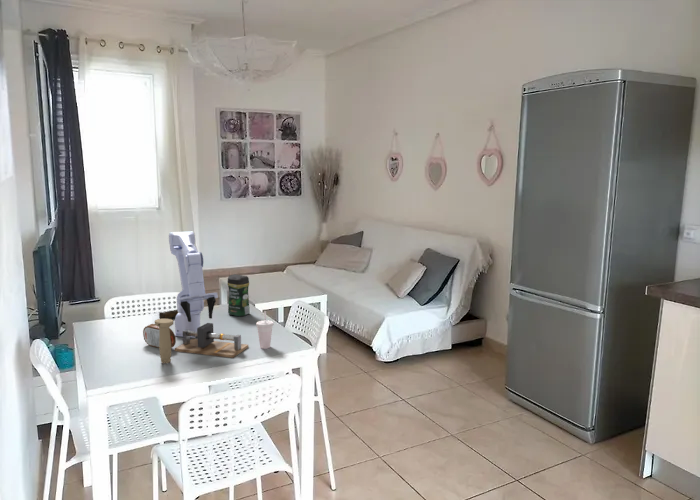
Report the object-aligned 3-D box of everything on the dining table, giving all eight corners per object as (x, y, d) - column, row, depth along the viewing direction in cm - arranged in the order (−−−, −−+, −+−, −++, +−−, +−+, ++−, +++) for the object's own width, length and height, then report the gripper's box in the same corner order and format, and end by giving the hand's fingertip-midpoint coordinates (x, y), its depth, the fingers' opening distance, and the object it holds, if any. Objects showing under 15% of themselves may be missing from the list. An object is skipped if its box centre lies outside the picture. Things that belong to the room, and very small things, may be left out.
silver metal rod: (183, 344, 202) (182, 330, 202) (186, 342, 205) (186, 328, 204) (238, 350, 196) (237, 336, 195) (241, 348, 198) (240, 334, 198)
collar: (197, 347, 198) (197, 328, 197) (208, 341, 205) (207, 322, 204) (203, 347, 197) (202, 328, 196) (213, 341, 204) (213, 323, 203)
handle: (164, 358, 190) (162, 317, 188) (178, 361, 187) (176, 320, 185) (153, 363, 186) (151, 321, 184) (167, 366, 183) (165, 323, 181)
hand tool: (162, 322, 236) (162, 311, 235) (158, 320, 238) (158, 310, 238) (201, 314, 249) (201, 304, 248) (197, 312, 252) (197, 302, 251)
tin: (176, 349, 200) (175, 327, 199) (170, 352, 197) (169, 329, 196) (148, 342, 207) (147, 321, 206) (142, 345, 205) (140, 323, 203)
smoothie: (259, 350, 199) (259, 314, 197) (254, 345, 205) (253, 310, 202) (276, 348, 202) (275, 312, 200) (270, 343, 208) (269, 308, 205)
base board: (174, 351, 198) (174, 348, 198) (192, 341, 210) (192, 338, 209) (233, 357, 192) (232, 354, 191) (248, 347, 203) (248, 344, 203)
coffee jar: (225, 314, 247) (224, 275, 244) (237, 310, 254) (236, 272, 251) (241, 317, 242) (240, 277, 239) (252, 313, 249) (251, 274, 246)
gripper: (173, 285, 197) (177, 322, 194) (213, 279, 198) (217, 316, 196) (178, 288, 204) (182, 323, 201) (217, 282, 205) (221, 317, 202)
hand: (200, 320), depth 199 cm, fingers open, 7 cm apart
